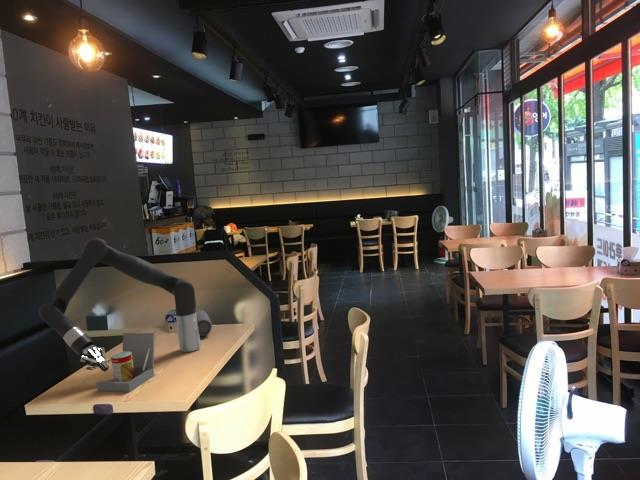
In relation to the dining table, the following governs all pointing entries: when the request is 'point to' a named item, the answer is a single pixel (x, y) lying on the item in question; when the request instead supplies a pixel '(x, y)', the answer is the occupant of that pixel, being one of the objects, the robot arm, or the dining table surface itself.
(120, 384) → the case
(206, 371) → the dining table surface
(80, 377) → the dining table surface
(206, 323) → the bluetooth speaker
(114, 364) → the canned food
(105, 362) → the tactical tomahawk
